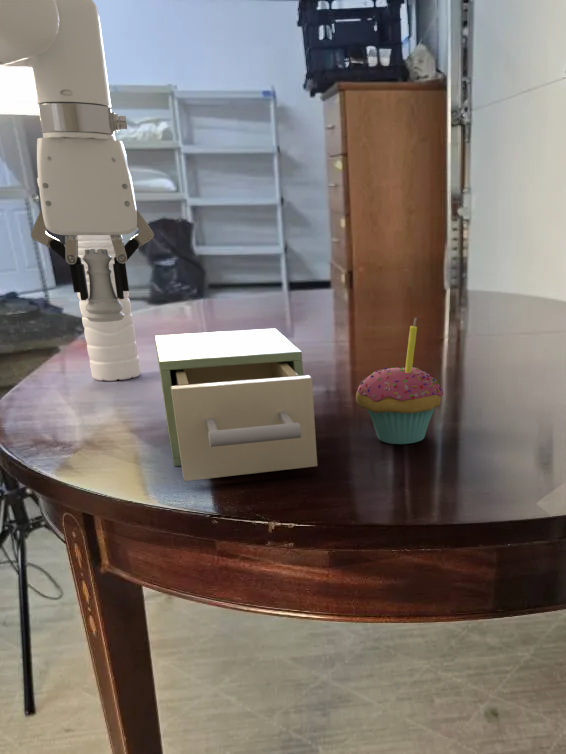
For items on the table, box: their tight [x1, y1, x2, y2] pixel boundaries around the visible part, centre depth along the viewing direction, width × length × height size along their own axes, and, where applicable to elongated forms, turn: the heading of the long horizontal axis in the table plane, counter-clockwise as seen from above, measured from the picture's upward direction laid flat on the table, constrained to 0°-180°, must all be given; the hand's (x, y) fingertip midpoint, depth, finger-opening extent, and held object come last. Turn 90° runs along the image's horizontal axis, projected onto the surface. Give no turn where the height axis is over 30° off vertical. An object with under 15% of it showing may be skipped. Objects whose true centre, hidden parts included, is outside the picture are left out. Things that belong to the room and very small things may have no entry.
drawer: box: [171, 362, 318, 482], centre depth 68 cm, size 19×11×8 cm, turn 18°
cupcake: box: [355, 317, 444, 445], centre depth 76 cm, size 9×8×12 cm
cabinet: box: [154, 327, 304, 467], centre depth 77 cm, size 15×13×10 cm
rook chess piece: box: [83, 249, 125, 322], centre depth 92 cm, size 4×4×8 cm
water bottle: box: [36, 177, 142, 382], centre depth 102 cm, size 9×6×25 cm
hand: (102, 296), depth 93 cm, fingers closed on rook chess piece, 3 cm apart
